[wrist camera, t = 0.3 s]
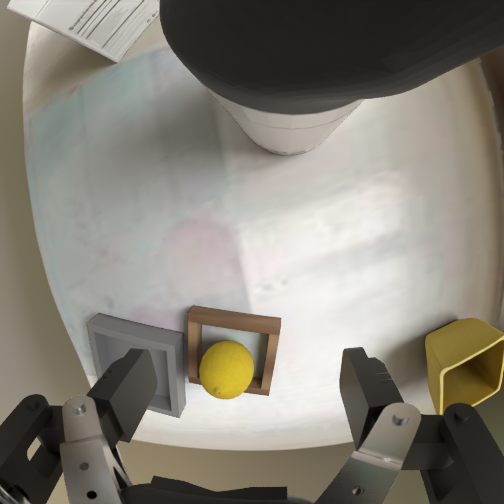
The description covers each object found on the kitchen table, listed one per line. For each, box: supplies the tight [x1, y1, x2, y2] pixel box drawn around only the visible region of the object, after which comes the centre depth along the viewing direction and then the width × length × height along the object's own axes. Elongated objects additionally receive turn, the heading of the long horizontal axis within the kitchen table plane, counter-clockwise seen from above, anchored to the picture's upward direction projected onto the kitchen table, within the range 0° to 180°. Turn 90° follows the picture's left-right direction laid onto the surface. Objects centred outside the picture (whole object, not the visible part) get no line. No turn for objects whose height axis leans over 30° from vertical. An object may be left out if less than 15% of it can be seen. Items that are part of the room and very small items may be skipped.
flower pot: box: [425, 318, 504, 415], centre depth 25 cm, size 9×9×9 cm
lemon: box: [199, 340, 254, 399], centre depth 28 cm, size 6×6×8 cm
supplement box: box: [7, 0, 160, 63], centre depth 17 cm, size 9×9×15 cm
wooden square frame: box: [188, 306, 281, 396], centre depth 31 cm, size 10×10×2 cm
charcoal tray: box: [87, 313, 186, 418], centre depth 33 cm, size 12×12×3 cm
